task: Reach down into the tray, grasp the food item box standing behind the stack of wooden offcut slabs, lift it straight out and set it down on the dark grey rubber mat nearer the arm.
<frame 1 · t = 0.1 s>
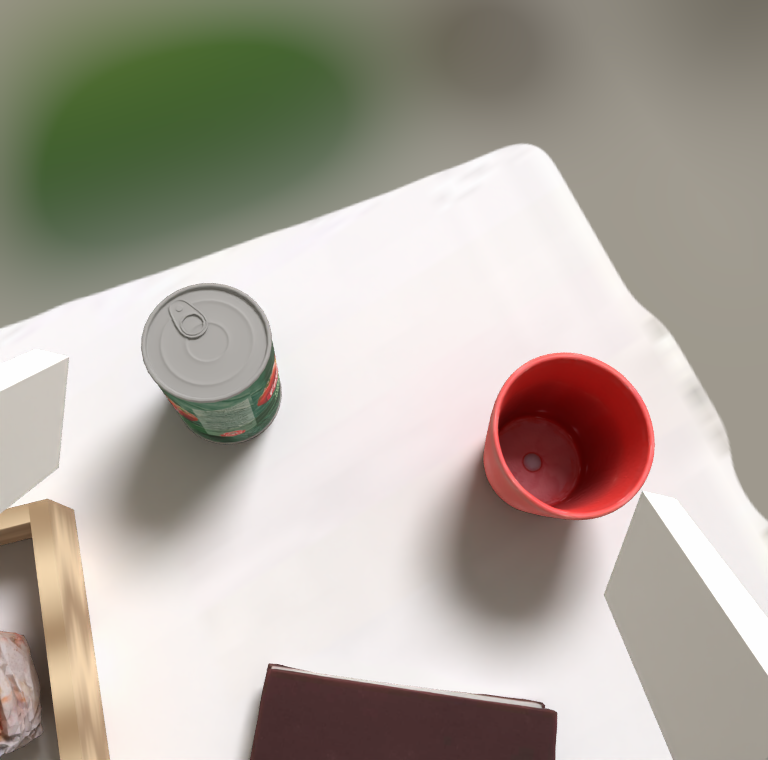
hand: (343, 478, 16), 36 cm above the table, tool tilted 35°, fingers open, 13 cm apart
canned tomato: (229, 394, 53), on the table
flower pot: (530, 463, 53), on the table
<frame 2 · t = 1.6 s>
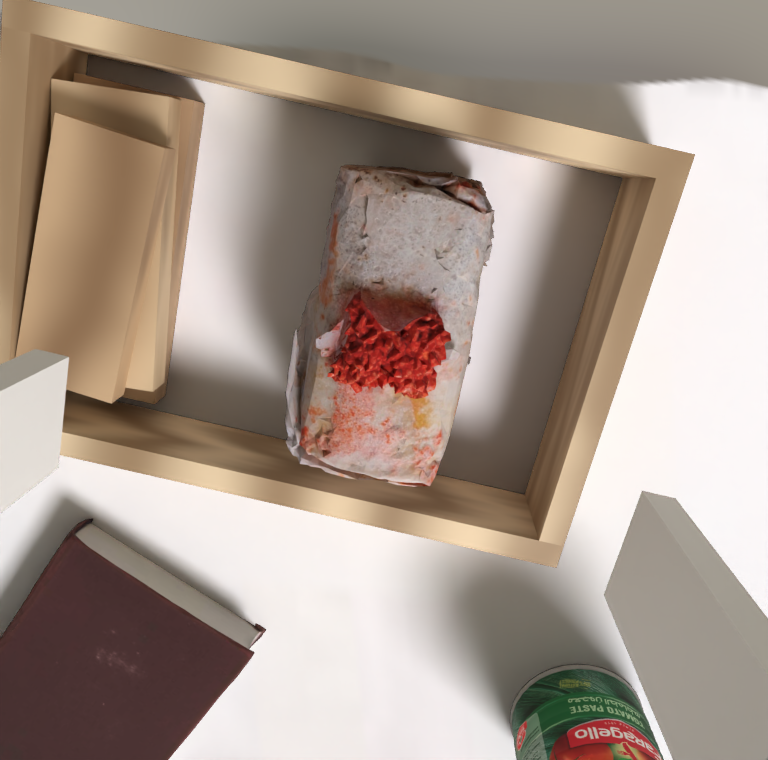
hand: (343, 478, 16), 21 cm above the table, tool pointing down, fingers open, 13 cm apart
canned tomato: (575, 715, 42), on the table
book: (104, 672, 44), on the table
food item: (391, 303, 36), resting in tray
tray: (322, 290, 35), on the table
offcut stack: (130, 245, 35), resting in tray
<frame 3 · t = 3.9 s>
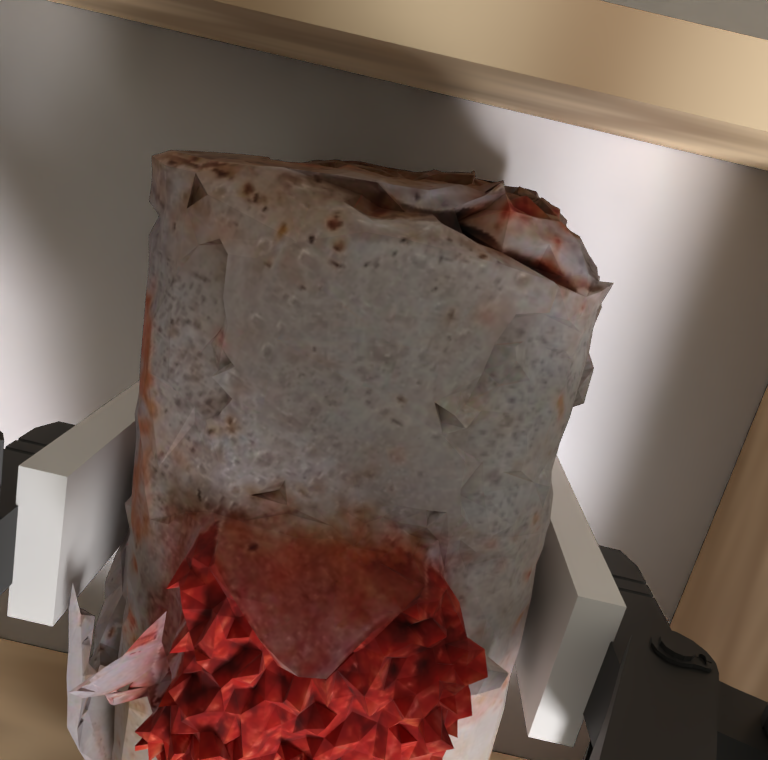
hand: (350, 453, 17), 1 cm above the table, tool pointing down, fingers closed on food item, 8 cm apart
food item: (351, 433, 18), resting in tray, touching gripper
tray: (217, 409, 18), on the table
when the fingers open (3 cm above the table, at t = 9.9 s): food item drops 2 cm, resting on mat.
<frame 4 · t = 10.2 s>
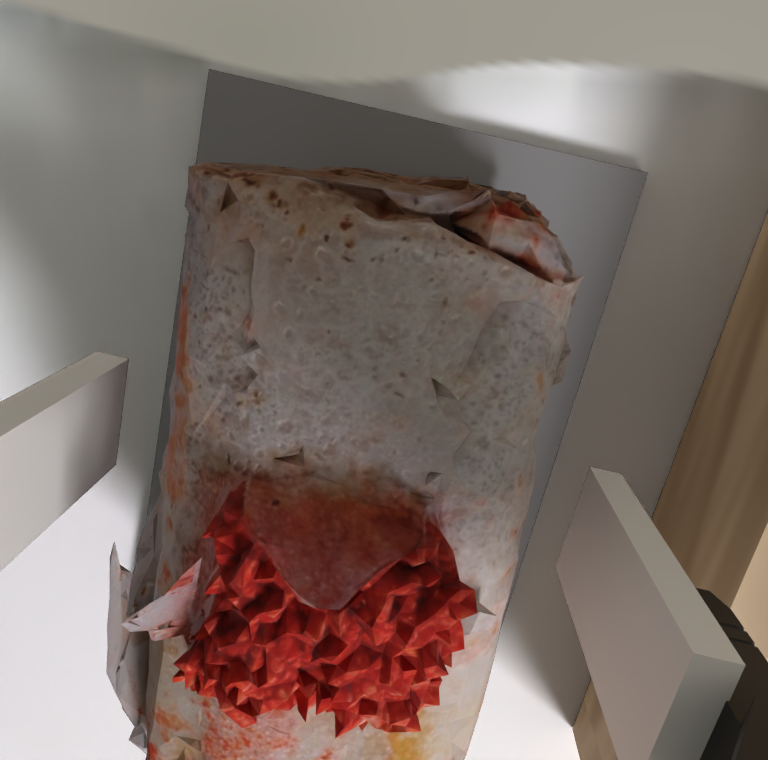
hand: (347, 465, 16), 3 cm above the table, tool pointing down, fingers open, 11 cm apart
mat: (361, 416, 20), on the table
food item: (357, 418, 19), resting on mat
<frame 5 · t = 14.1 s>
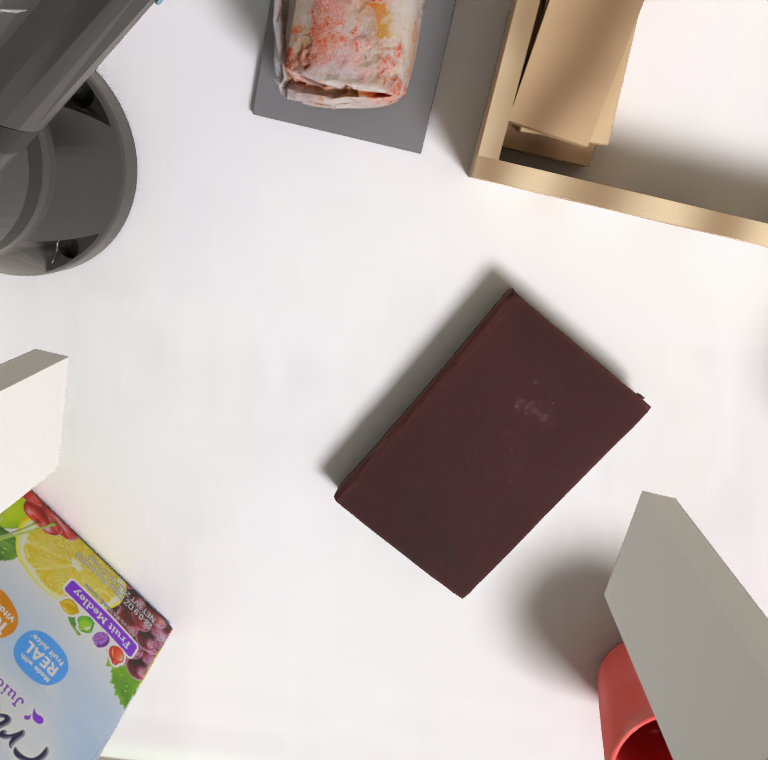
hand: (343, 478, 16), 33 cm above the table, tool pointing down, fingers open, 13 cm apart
snack box: (50, 556, 55), on the table
book: (484, 439, 51), on the table
flower pot: (646, 673, 55), on the table
tray: (736, 67, 42), on the table
offcut stack: (576, 29, 42), resting in tray
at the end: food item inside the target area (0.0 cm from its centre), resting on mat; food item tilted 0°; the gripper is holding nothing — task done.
